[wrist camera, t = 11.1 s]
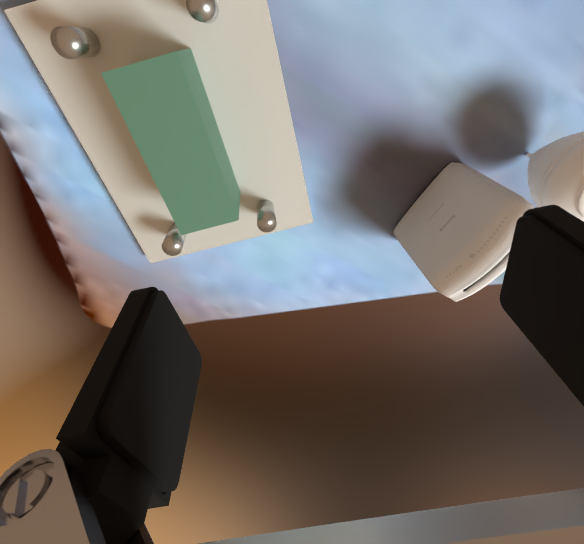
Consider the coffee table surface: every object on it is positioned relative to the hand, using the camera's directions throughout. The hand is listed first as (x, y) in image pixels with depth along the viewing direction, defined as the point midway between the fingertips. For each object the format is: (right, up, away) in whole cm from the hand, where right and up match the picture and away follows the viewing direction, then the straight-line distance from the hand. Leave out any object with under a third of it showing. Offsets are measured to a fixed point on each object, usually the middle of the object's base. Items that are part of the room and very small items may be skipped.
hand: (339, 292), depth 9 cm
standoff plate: (-10, +13, +21) cm, 27 cm away
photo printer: (+14, +8, +28) cm, 32 cm away
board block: (-10, +12, +20) cm, 26 cm away
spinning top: (+23, +13, +25) cm, 37 cm away
